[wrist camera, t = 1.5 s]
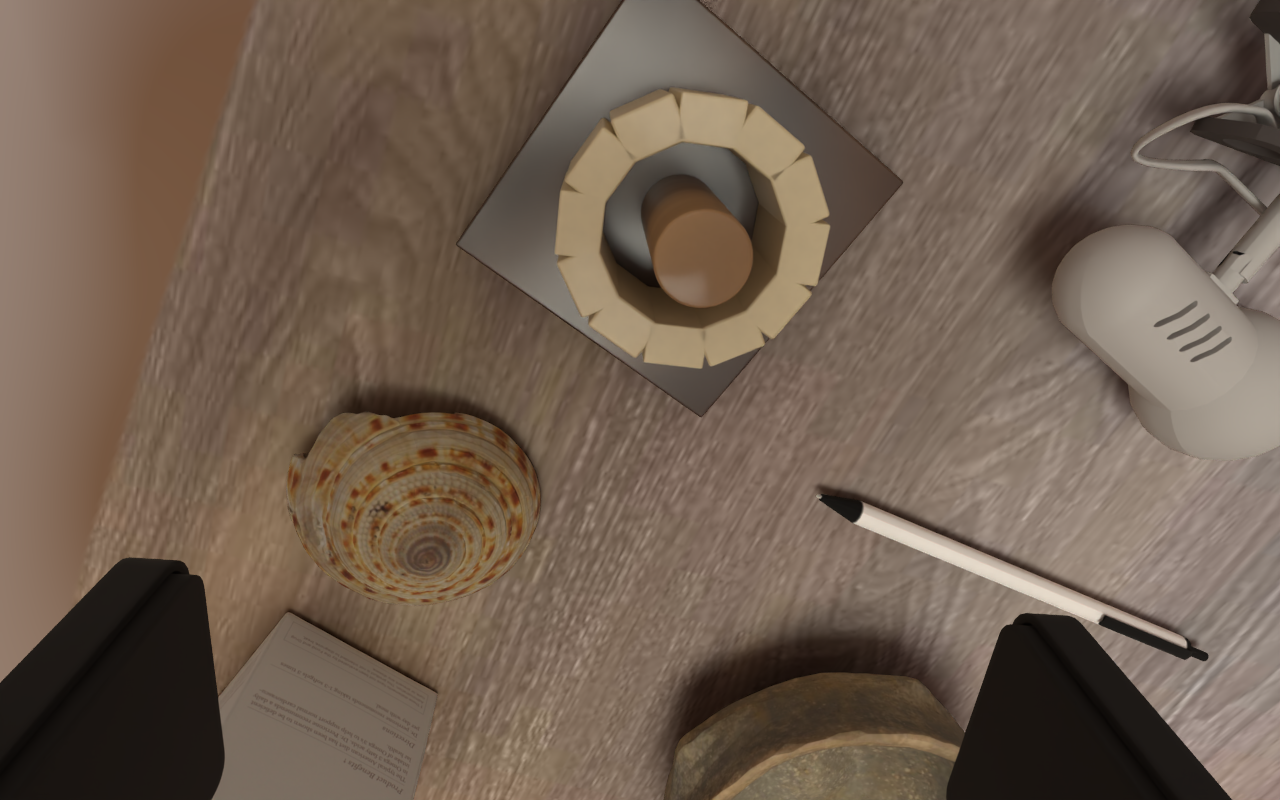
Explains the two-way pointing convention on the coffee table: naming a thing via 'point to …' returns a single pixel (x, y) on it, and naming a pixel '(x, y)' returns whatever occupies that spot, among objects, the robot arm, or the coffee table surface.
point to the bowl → (822, 743)
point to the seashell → (413, 504)
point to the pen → (1011, 576)
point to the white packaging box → (321, 722)
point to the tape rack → (668, 180)
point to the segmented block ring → (780, 242)
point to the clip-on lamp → (1190, 297)
